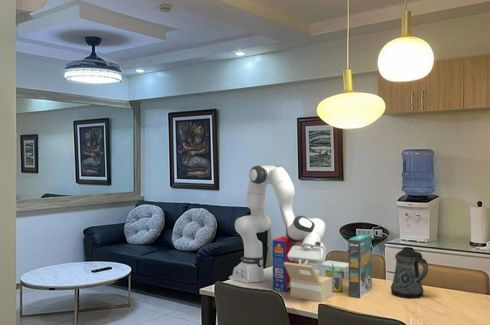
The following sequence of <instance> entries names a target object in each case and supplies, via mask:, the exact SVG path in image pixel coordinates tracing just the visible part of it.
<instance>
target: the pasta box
mask: <svg viewBox="0 0 490 325" xmlns="http://www.w3.org/2000/svg"><path fill="white" fill-rule="evenodd" d="M303 240H304V239H303ZM303 240H302V241H301V242H299V243H294V242H291V241H290V240H289V239H288V238H287V236H286V235H283V236H280V237H277V238H274V239H272V290H273V291H276V292H280V293H287V292H290V291H291V286H290V282H291V278H290V276H289V274H288V272H287V270H286V267H285V265H284V263H285V262H288V263H296V264H299V261H291V260H289V258H288V256H287V255H288V253H289V251H290V249H291V248H292V246H294V245H302V243H303ZM304 263H305V262H303V263H301V264H304ZM309 264H310V263H309ZM309 264H308V265H309Z"/></svg>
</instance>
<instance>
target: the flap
mask: <svg viewBox="0 0 490 325" xmlns="http://www.w3.org/2000/svg"><path fill="white" fill-rule="evenodd" d="M284 265H285V267H286V270H287V272H288V274H289V276H290V278H291V279H297V280H303V281H310V282H316V283H318V282H319V280H318V278H317V276H316V275H317V274H316V271H315V268H314V267H313V265H311V264H310V265H303V264H296V263H288V262H285V263H284Z"/></svg>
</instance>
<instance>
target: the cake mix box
mask: <svg viewBox="0 0 490 325" xmlns="http://www.w3.org/2000/svg"><path fill="white" fill-rule="evenodd" d="M347 241H348V263H349V281H348V297H349V298H354V299H361V298H363V297H364V296H365V295H366V294H367V293H369V291H372V284H373V283H372V282H373V281H372V276H373V275H372V234H366V233H365V234H363V233H360V234H357V235H356V236H354V237H351V238H349V239H348V240H347Z"/></svg>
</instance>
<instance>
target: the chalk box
mask: <svg viewBox="0 0 490 325" xmlns="http://www.w3.org/2000/svg"><path fill="white" fill-rule="evenodd" d="M332 266H333V263H332ZM326 276H327V277H331V278H332V293H333V292H334V293H344V289H343V288H344V287H343V286H344V284H343V283H344V282H343V279H342V268H334V266H333V268H326Z"/></svg>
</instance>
